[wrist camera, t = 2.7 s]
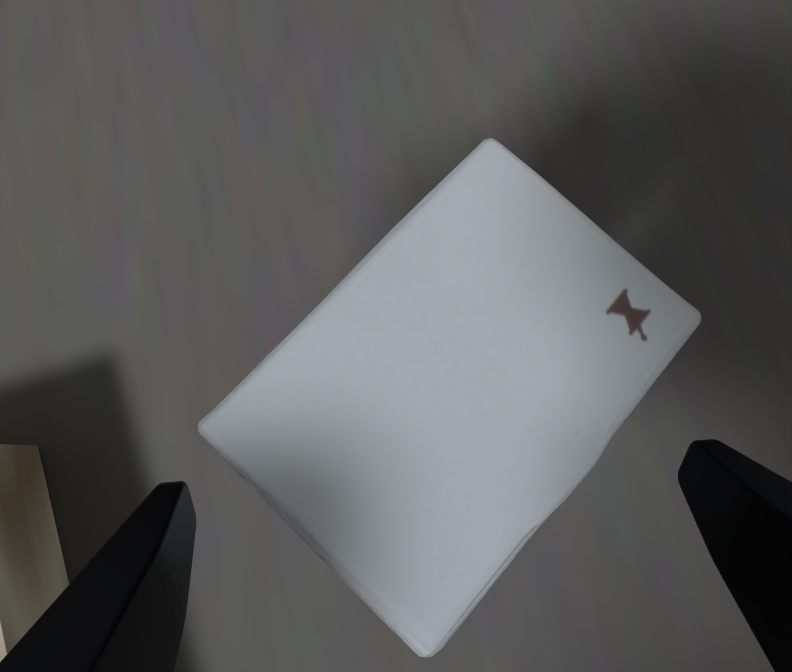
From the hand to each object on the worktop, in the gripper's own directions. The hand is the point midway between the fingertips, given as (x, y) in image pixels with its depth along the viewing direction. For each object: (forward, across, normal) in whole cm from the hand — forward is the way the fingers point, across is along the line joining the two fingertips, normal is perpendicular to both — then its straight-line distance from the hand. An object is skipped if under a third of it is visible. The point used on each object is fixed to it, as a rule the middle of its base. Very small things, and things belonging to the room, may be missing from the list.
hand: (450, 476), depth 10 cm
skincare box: (+8, 0, +6) cm, 9 cm away
